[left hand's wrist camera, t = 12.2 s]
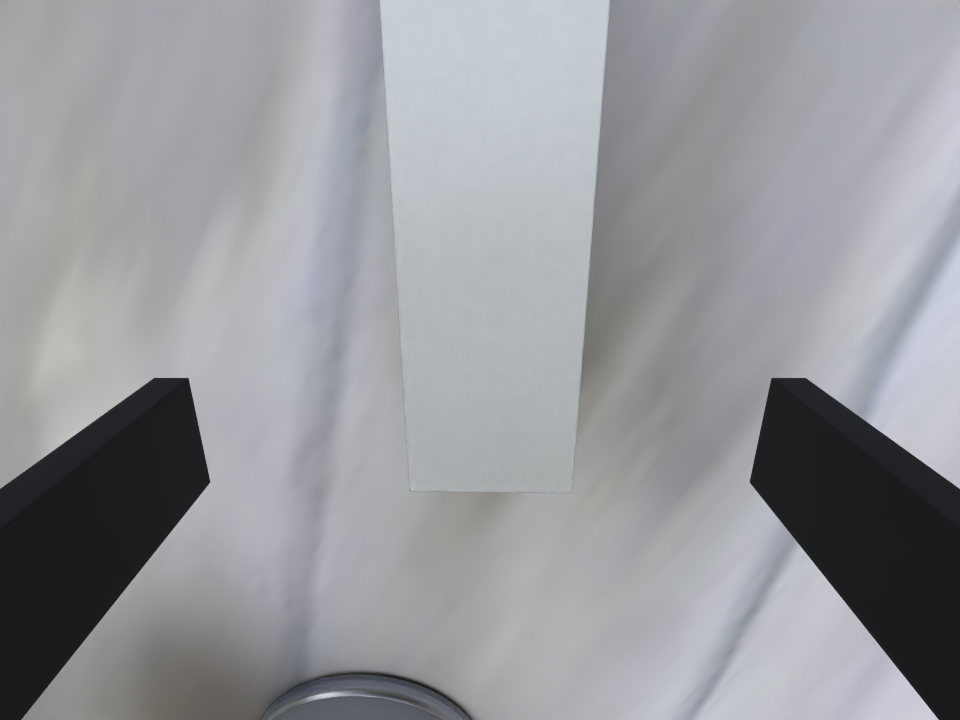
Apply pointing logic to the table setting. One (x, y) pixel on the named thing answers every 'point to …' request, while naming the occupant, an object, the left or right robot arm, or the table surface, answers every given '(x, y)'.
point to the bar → (493, 231)
